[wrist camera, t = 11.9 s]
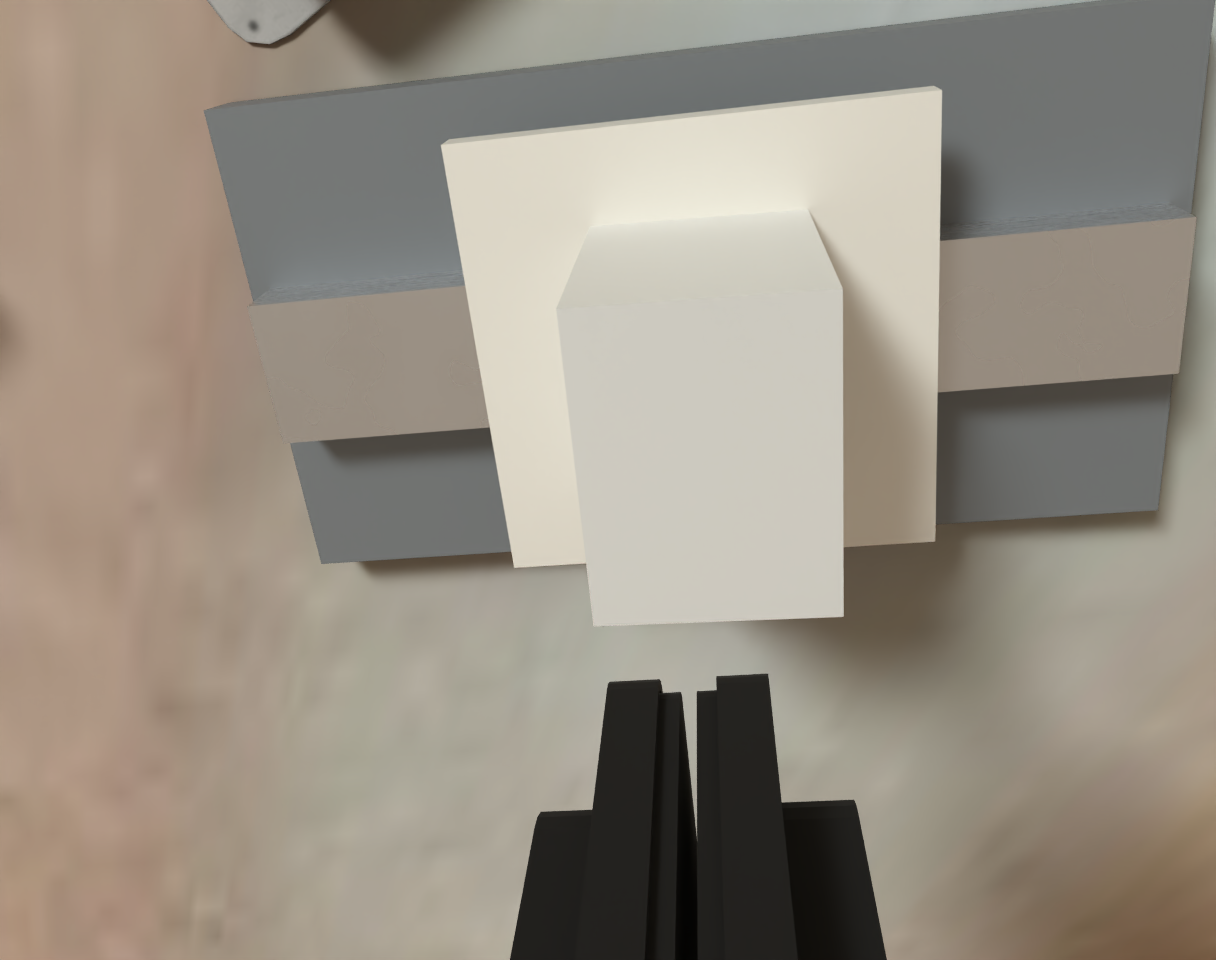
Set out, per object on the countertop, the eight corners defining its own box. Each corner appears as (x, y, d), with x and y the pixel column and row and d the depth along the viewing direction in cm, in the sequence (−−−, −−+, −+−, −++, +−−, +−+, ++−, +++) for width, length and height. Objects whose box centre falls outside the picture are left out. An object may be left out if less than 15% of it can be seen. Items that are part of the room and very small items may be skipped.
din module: (808, 209, 22) (842, 288, 17) (812, 480, 25) (843, 624, 19) (590, 226, 23) (555, 309, 17) (616, 489, 25) (594, 633, 20)
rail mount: (1186, -10, 24) (1249, -6, 21) (1136, 484, 29) (1181, 538, 26) (229, 102, 26) (175, 118, 24) (337, 537, 31) (303, 592, 29)
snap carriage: (920, 78, 23) (941, 89, 21) (917, 532, 28) (934, 578, 26) (462, 129, 24) (440, 145, 22) (533, 556, 29) (520, 602, 27)
